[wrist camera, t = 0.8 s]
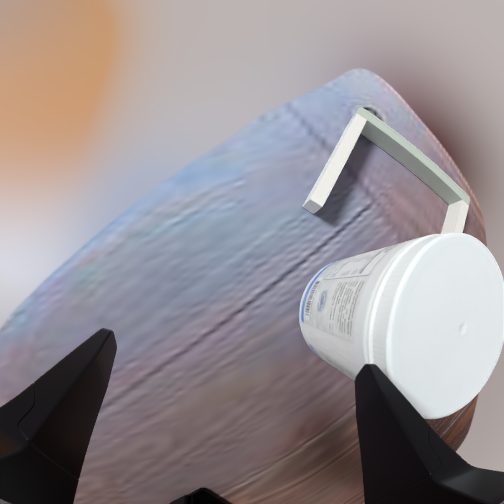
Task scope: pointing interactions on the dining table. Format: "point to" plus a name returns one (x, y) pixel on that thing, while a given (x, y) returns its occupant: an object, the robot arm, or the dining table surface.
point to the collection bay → (402, 153)
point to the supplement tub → (412, 318)
